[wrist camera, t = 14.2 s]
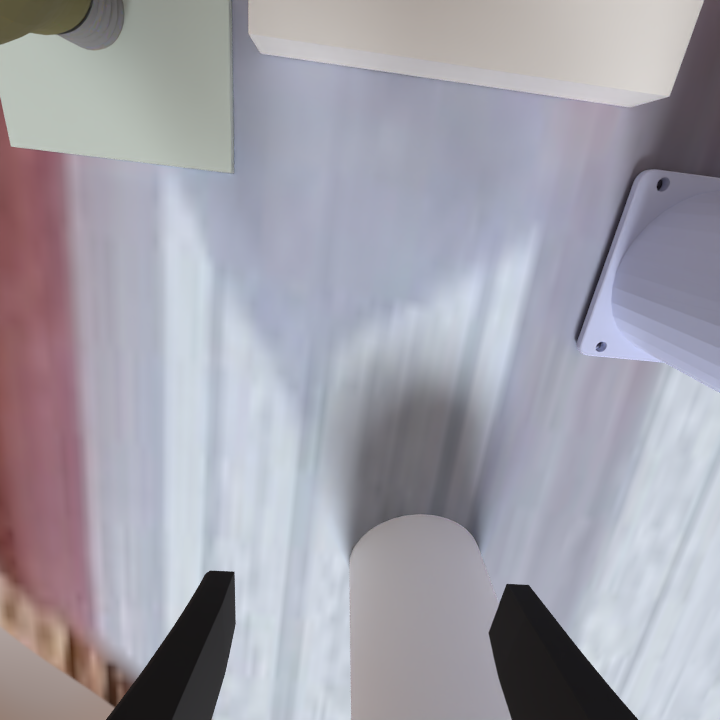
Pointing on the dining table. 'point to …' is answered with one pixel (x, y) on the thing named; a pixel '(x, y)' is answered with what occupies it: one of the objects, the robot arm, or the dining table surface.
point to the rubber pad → (129, 88)
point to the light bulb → (63, 20)
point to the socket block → (493, 42)
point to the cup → (422, 624)
